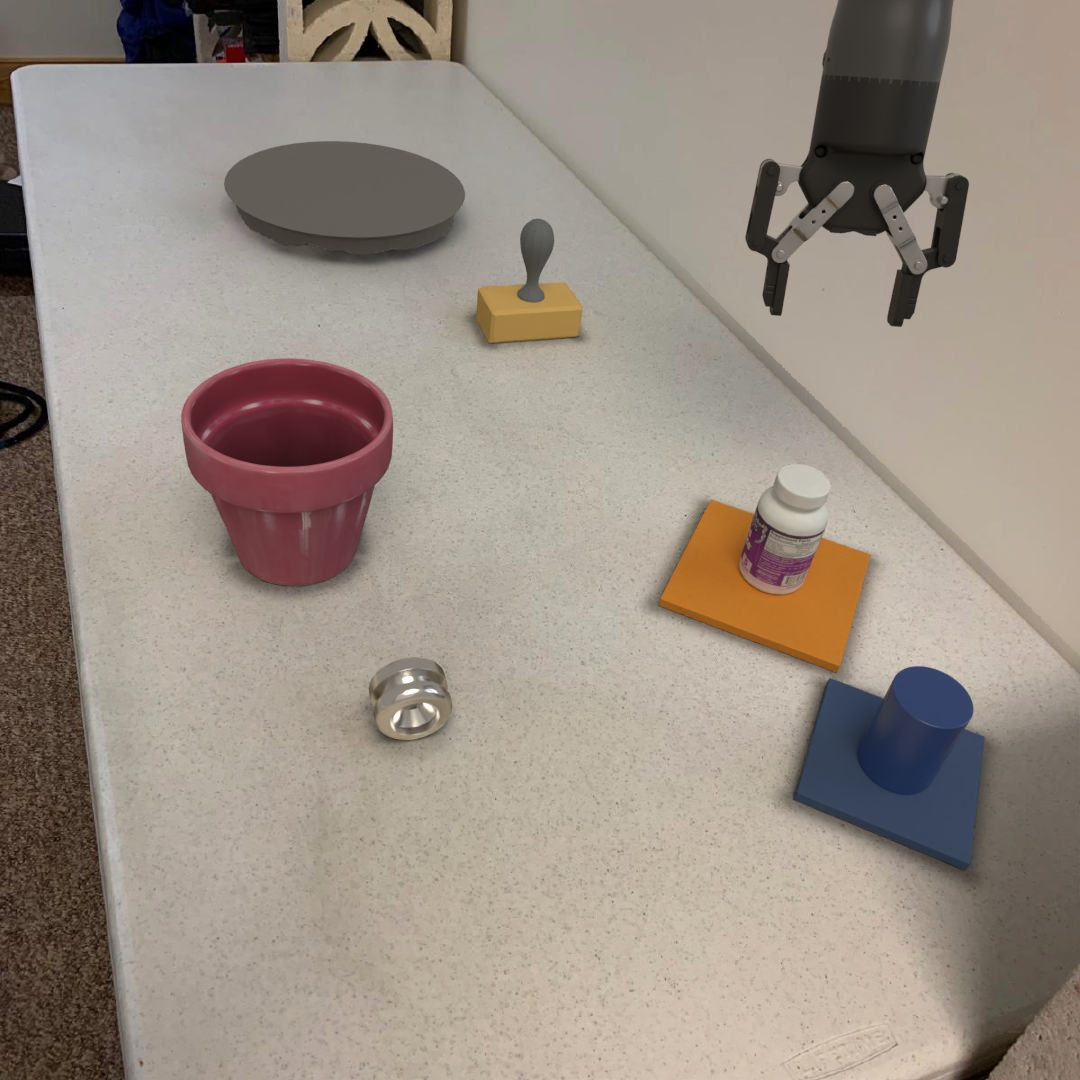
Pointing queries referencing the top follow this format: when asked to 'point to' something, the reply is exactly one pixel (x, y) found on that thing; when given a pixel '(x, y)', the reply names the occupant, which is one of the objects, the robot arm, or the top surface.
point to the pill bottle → (786, 530)
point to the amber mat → (769, 619)
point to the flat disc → (345, 196)
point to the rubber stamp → (530, 298)
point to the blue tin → (914, 729)
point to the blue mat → (849, 794)
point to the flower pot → (289, 462)
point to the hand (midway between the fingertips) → (834, 319)
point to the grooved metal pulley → (410, 698)
